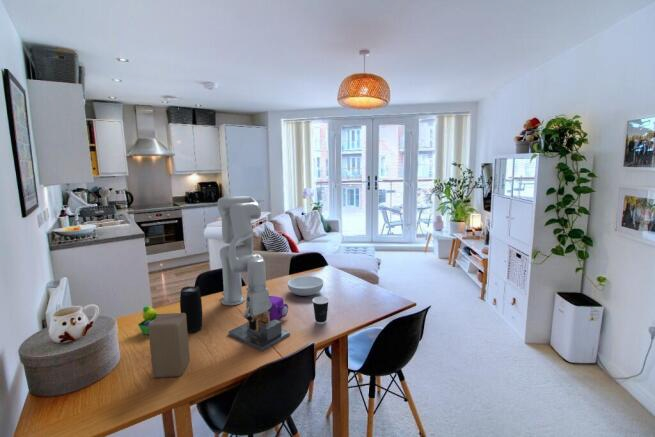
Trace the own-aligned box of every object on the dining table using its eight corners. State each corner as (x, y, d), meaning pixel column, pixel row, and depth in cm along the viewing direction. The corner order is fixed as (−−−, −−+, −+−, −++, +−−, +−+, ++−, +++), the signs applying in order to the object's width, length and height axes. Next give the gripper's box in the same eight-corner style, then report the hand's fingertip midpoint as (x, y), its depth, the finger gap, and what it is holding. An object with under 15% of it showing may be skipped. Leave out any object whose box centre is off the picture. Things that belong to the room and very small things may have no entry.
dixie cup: (317, 316, 162) (317, 295, 161) (332, 320, 159) (331, 298, 157) (309, 323, 155) (309, 301, 154) (324, 327, 152) (324, 304, 150)
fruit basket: (151, 337, 144) (149, 313, 142) (135, 334, 146) (133, 310, 145) (171, 325, 154) (169, 302, 153) (155, 323, 157) (153, 300, 155)
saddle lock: (248, 327, 144) (247, 314, 143) (259, 322, 149) (258, 309, 148) (258, 332, 140) (258, 319, 139) (269, 326, 145) (269, 313, 144)
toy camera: (284, 323, 155) (283, 303, 154) (257, 321, 158) (256, 301, 157) (291, 313, 166) (291, 294, 164) (266, 311, 169) (265, 293, 167)
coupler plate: (228, 334, 146) (227, 318, 144) (256, 321, 158) (256, 306, 157) (261, 351, 132) (261, 333, 131) (289, 335, 145) (289, 319, 144)
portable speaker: (206, 324, 155) (203, 285, 152) (197, 334, 146) (194, 292, 143) (188, 324, 155) (185, 284, 152) (178, 334, 146) (175, 292, 143)
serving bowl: (303, 284, 208) (303, 273, 206) (330, 291, 195) (330, 280, 194) (280, 294, 191) (279, 283, 190) (308, 303, 179) (308, 291, 178)
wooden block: (163, 362, 125) (159, 312, 122) (190, 360, 126) (186, 311, 123) (152, 379, 115) (146, 325, 112) (181, 377, 116) (177, 324, 113)
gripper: (246, 295, 133) (248, 336, 135) (277, 283, 146) (279, 321, 149) (234, 291, 137) (237, 331, 140) (266, 279, 151) (267, 316, 154)
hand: (258, 325), depth 144 cm, fingers closed on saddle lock, 6 cm apart
